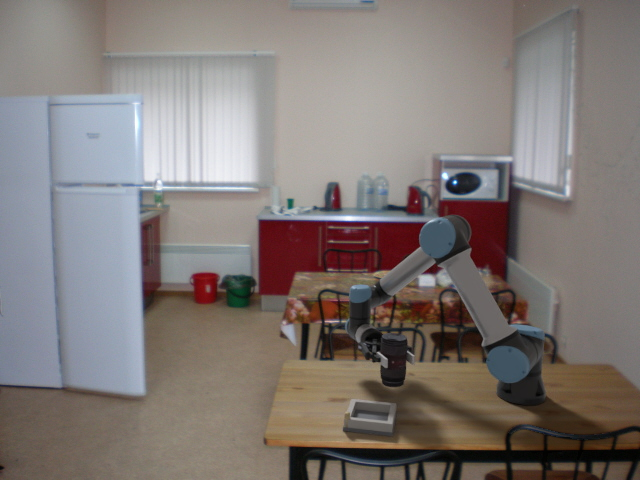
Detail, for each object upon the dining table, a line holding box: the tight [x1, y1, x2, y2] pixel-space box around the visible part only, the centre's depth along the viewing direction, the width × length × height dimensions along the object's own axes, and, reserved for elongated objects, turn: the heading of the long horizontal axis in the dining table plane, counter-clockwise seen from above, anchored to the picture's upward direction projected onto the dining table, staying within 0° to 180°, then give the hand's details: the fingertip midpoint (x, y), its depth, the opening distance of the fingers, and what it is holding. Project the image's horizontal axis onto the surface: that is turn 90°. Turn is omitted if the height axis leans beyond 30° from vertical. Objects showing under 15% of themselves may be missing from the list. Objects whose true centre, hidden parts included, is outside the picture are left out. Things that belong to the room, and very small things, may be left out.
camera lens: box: [379, 332, 409, 388], centre depth 183 cm, size 8×8×15 cm
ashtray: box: [342, 398, 398, 437], centre depth 173 cm, size 14×14×5 cm
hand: (400, 362), depth 178 cm, fingers closed on camera lens, 8 cm apart
